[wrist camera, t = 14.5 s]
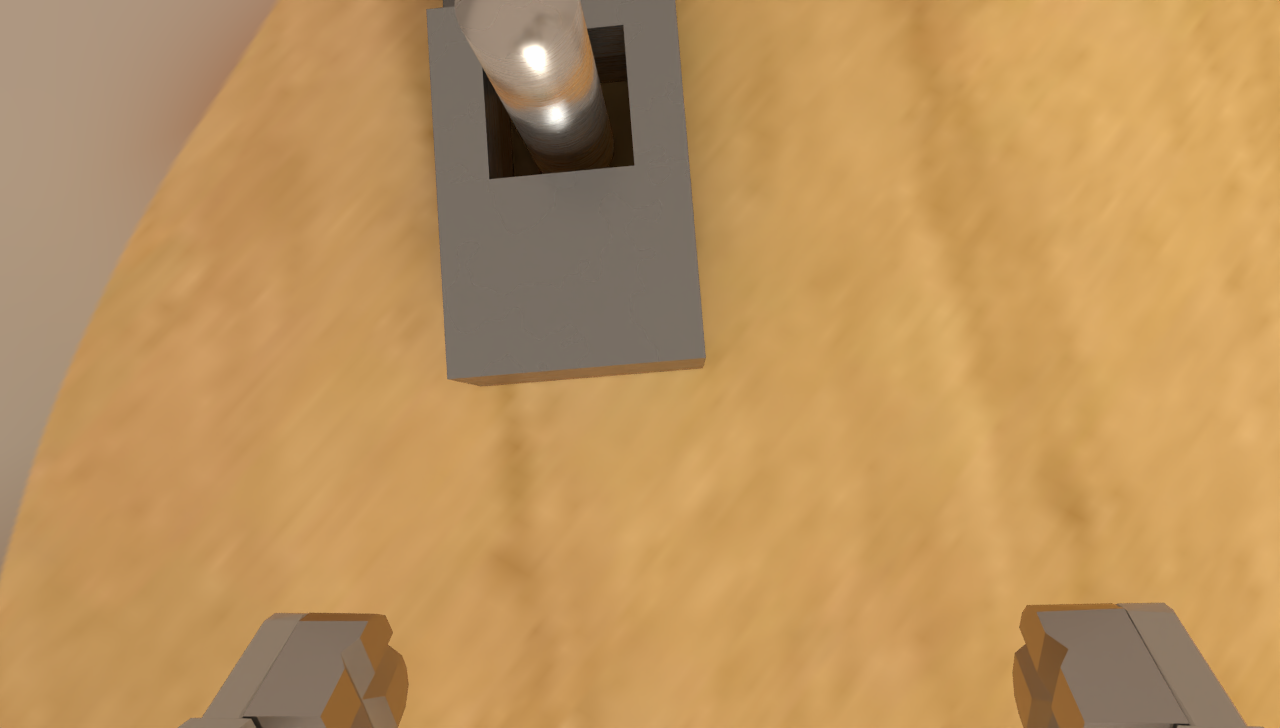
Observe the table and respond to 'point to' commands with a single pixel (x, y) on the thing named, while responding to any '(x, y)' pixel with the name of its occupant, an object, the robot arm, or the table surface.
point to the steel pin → (543, 78)
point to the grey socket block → (566, 219)
